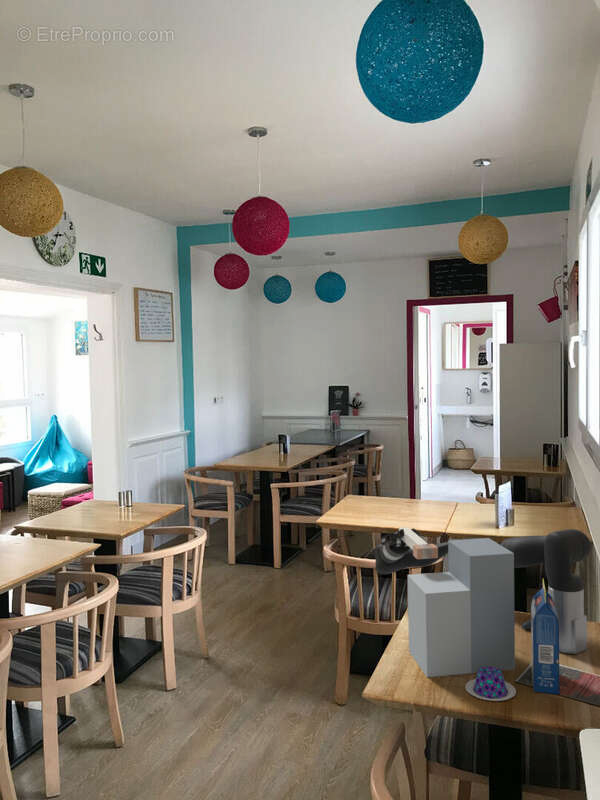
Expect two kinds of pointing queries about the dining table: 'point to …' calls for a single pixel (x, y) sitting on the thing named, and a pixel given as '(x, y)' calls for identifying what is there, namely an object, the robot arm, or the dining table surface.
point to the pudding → (490, 685)
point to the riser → (464, 611)
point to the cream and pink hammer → (419, 545)
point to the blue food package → (544, 643)
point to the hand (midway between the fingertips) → (408, 531)
